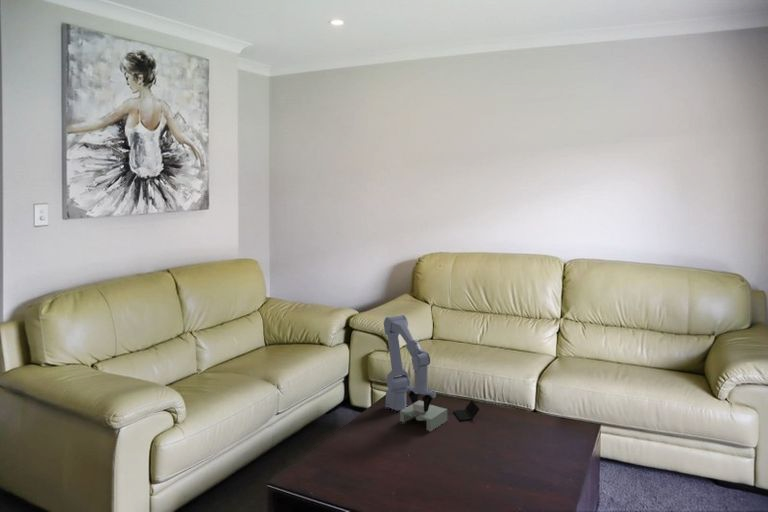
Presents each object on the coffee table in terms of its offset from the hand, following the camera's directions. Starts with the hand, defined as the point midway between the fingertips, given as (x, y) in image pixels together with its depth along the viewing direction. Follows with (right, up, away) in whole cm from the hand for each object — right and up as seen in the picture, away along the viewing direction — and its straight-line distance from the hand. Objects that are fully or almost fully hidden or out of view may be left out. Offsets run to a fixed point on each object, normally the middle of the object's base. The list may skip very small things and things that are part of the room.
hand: (420, 409), depth 254 cm
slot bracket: (+1, -6, +3) cm, 7 cm away
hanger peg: (0, -4, +1) cm, 4 cm away
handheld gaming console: (+21, -6, +9) cm, 24 cm away
